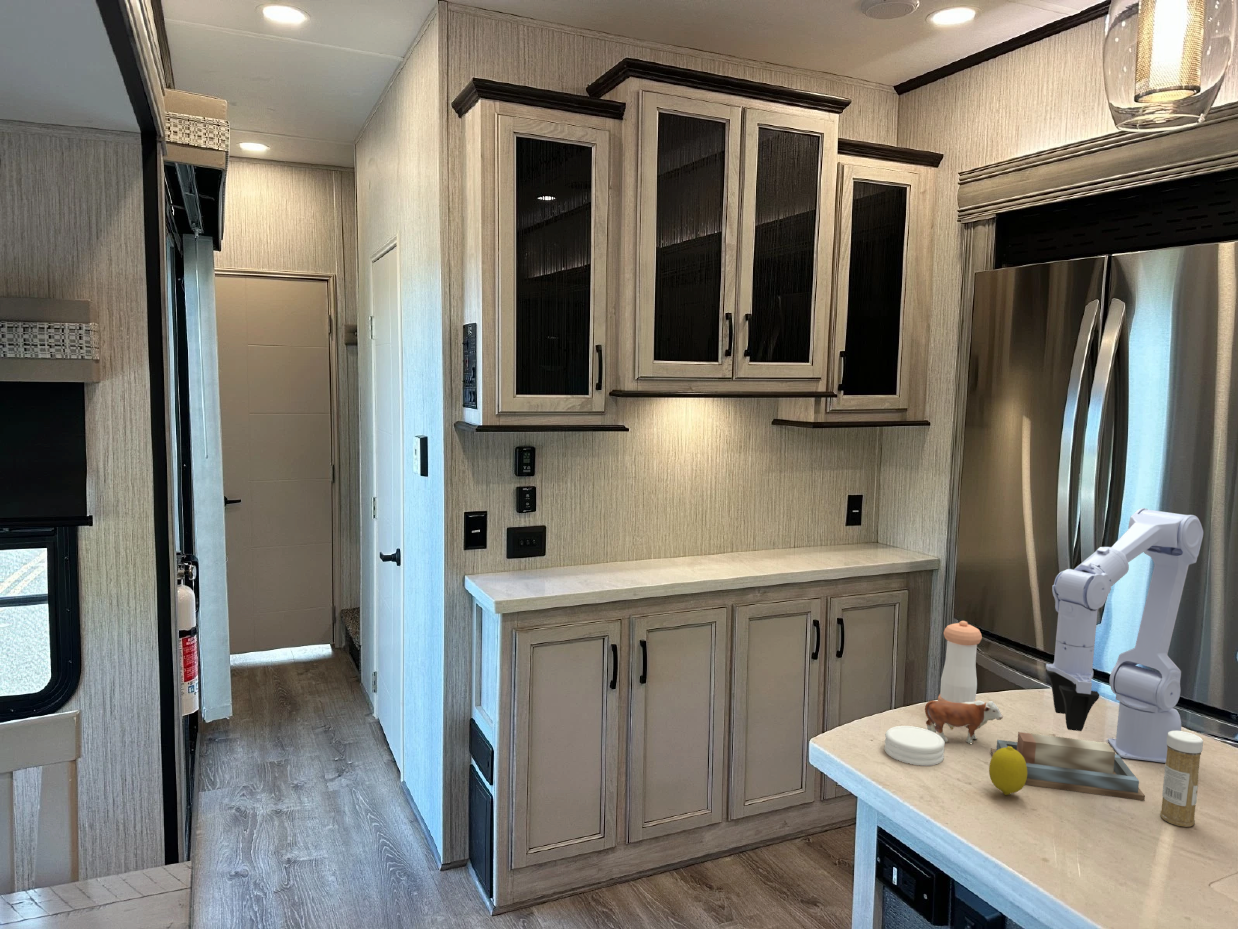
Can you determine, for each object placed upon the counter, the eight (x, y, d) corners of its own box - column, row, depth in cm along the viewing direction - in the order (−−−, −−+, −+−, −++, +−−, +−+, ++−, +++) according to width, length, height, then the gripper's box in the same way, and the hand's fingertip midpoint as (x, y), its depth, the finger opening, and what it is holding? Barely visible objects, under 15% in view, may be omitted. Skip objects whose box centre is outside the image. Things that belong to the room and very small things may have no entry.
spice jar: (1202, 827, 131) (1211, 740, 130) (1176, 829, 130) (1185, 742, 129) (1176, 812, 136) (1184, 728, 134) (1151, 814, 135) (1160, 730, 133)
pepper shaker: (982, 723, 169) (989, 627, 167) (944, 722, 169) (951, 625, 167) (967, 709, 176) (975, 617, 175) (931, 708, 176) (938, 615, 175)
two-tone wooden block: (1104, 771, 148) (1107, 742, 147) (1112, 781, 144) (1115, 752, 143) (1015, 760, 151) (1018, 732, 150) (1020, 769, 147) (1023, 741, 146)
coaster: (938, 772, 147) (940, 752, 147) (878, 758, 152) (880, 739, 151) (947, 751, 156) (948, 732, 156) (890, 739, 161) (891, 720, 160)
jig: (1120, 769, 151) (1121, 753, 150) (1144, 800, 139) (1146, 783, 139) (990, 752, 156) (991, 737, 155) (1003, 781, 144) (1004, 765, 144)
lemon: (1023, 790, 141) (1027, 743, 140) (1026, 806, 136) (1031, 756, 135) (986, 784, 143) (990, 737, 142) (988, 799, 137) (992, 750, 137)
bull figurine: (1002, 750, 157) (1005, 706, 156) (923, 741, 160) (927, 698, 159) (996, 740, 161) (1000, 697, 160) (920, 732, 164) (923, 690, 163)
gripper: (1038, 628, 153) (1032, 703, 154) (1060, 652, 139) (1052, 734, 140) (1082, 632, 152) (1076, 708, 153) (1108, 657, 138) (1101, 740, 139)
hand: (1068, 721), depth 147 cm, fingers open, 7 cm apart
